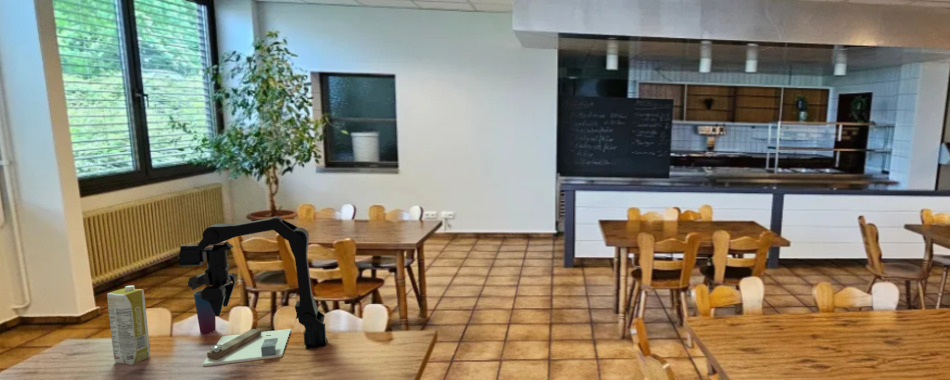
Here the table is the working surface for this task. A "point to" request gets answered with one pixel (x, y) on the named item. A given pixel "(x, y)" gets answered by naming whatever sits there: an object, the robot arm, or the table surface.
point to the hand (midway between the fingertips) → (221, 311)
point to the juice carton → (128, 325)
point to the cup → (204, 314)
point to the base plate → (249, 348)
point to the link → (234, 343)
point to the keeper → (269, 347)
